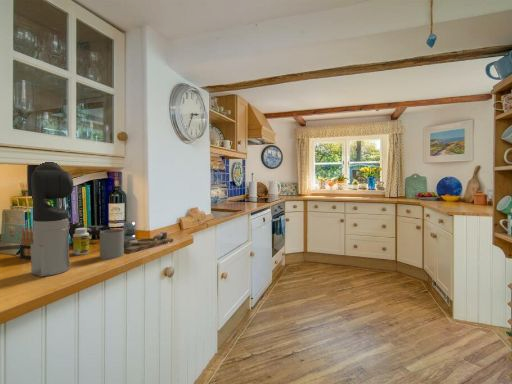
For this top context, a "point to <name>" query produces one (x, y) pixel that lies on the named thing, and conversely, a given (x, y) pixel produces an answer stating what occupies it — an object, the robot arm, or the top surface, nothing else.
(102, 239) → the cup
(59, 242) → the robot arm
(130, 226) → the universal joint
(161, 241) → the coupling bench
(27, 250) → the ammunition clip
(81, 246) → the supplement bottle
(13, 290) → the top surface
